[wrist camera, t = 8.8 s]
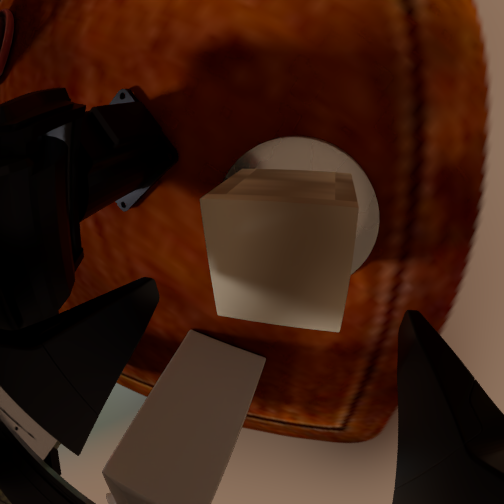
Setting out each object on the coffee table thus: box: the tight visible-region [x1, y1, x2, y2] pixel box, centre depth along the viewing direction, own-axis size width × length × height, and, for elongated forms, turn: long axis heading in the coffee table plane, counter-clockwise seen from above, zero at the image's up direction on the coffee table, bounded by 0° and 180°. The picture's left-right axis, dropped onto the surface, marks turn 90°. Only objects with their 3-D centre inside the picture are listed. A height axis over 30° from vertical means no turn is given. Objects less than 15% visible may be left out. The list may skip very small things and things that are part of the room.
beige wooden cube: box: [200, 169, 359, 332], centre depth 13 cm, size 6×6×5 cm
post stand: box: [223, 136, 379, 275], centre depth 14 cm, size 9×9×4 cm
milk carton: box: [102, 330, 266, 504], centre depth 17 cm, size 7×7×19 cm
